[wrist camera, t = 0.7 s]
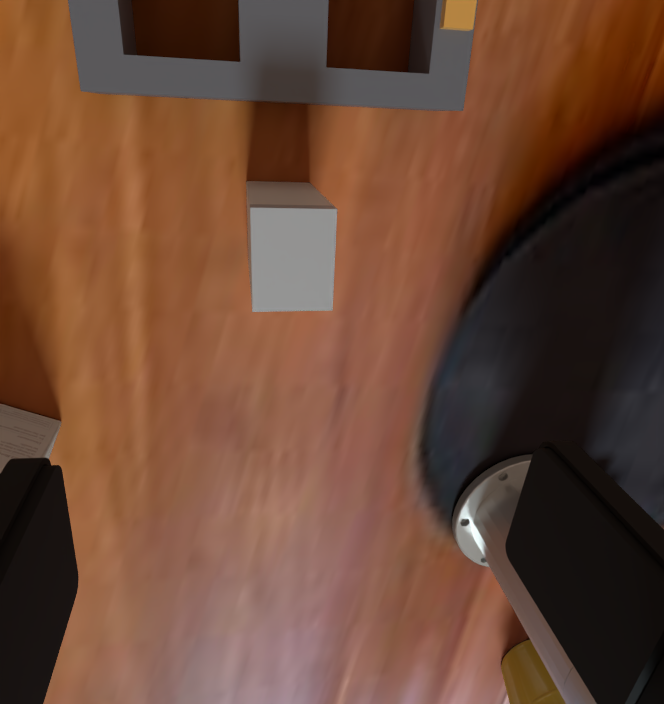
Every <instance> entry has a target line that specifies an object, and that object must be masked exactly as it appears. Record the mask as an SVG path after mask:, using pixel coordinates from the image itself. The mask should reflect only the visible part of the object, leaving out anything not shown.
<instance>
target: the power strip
mask: <svg viewBox="0 0 664 704" xmlns="http://www.w3.org/2000/svg"><path fill="white" fill-rule="evenodd" d="M68 3H69V10H70V18H71V25H72V32H73V39H74V46H75V53H76V60H77V67H78V74H79V81H80V89H81V91H84V92H91V93H98V94H116V95H135V96H155V97H175V98H194V99H214V100H234V101H253V102H273V103H293V104H312V105H332V106H352V107H371V108H391V109H411V110H430V111H463V108H464V101H465V93H466V86H467V78H468V71H469V63H470V56H471V48H472V41H473V33H474V26H475V18H476V11H477V4H478V0H414V10H413V21H412V32H411V43H410V54H409V65H408V73H407V72H391V71H375V70H360V69H344V68H328V67H326V63H327V33H328V3H329V0H238V17H239V54H240V62H233V61H217V60H201V59H186V58H170V57H154V56H138V55H137V50H136V40H135V30H134V20H133V10H132V0H68Z"/></svg>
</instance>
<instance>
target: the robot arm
mask: <svg viewBox="0 0 664 704" xmlns="http://www.w3.org/2000/svg"><path fill="white" fill-rule="evenodd" d="M452 530H453V534H454V537H455V540H456V541H457V543H458V545H459V548H460V549H461V550H462V552H463V553H464V554H465V556H467V557H468V558H469V559H471V560H472V561H473V562H475V563H477V564H480V565H483V566H487V567H490V568H491V570H492V572H493V574H494V575H495V577H496V579H497V581H498V583H499V584H500V586H501V588H502V590H503V592H504V593H505V595H506V597H507V599H508V601H509V602H510V604H511V606H512V608H513V610H514V611H515V613H516V615H517V617H518V619H519V620H520V622H521V624H522V626H523V627H524V629H525V631H526V633H527V635H528V636H529V638H530V640H531V642H532V644H533V645H534V647H535V649H536V651H537V653H538V654H539V656H540V658H541V660H542V662H543V663H544V665H545V667H546V669H547V671H548V672H549V674H550V676H551V678H552V680H553V681H554V683H555V685H556V687H557V689H558V690H559V692H560V694H561V696H562V698H563V699H564V701H565V703H566V704H664V529H663V528H662V527H661V526H659V525H658V524H657V523H656V522H655V521H654V520H653V519H652V518H651V517H650V516H649V515H648V514H647V513H646V512H645V511H644V510H643V509H642V508H641V507H640V506H639V505H638V504H637V503H636V502H635V501H634V500H633V499H632V498H631V497H630V496H629V495H628V494H627V493H626V492H625V491H624V490H623V489H622V488H621V487H620V486H619V485H618V484H617V483H616V482H615V481H614V480H613V479H612V478H611V477H610V476H609V475H608V474H607V473H606V472H605V471H603V470H602V469H601V468H600V467H599V466H598V465H597V464H596V463H595V462H594V461H593V460H592V459H591V458H590V457H589V456H588V455H587V454H586V453H585V452H584V451H583V450H582V449H581V448H580V447H579V446H578V445H577V444H576V443H574V442H573V441H547V442H543V443H542V444H541V445H540V448H539V449H536V450H535V451H534V453H533V454H530V455H522V456H518V457H513V458H510V459H508V460H505V461H502V462H500V463H498V464H496V465H494V466H492V467H491V468H489V469H487V470H486V471H484V472H483V473H482V474H481V475H479V476H478V477H477V478H476V479H475V480H474V481H473V482H472V483H471V484H470V485H469V486H468V487H467V488H466V489H465V491H464V492H463V494H462V495H461V497H460V498H459V500H458V503H457V505H456V507H455V510H454V514H453V518H452ZM77 589H78V569H77V563H76V557H75V550H74V544H73V538H72V531H71V525H70V518H69V512H68V506H67V499H66V493H65V487H64V480H63V474H62V469H61V467H60V466H59V465H53V466H51V463H50V461H49V459H48V458H46V457H45V458H14V459H10V460H9V461H8V462H7V464H6V465H5V467H4V468H3V470H2V472H1V473H0V704H43V702H44V699H45V696H46V693H47V689H48V686H49V683H50V679H51V676H52V673H53V670H54V666H55V663H56V660H57V657H58V653H59V650H60V647H61V643H62V640H63V637H64V634H65V630H66V627H67V624H68V620H69V617H70V614H71V611H72V607H73V604H74V601H75V598H76V594H77Z"/></svg>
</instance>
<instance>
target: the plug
mask: <svg viewBox="0 0 664 704" xmlns="http://www.w3.org/2000/svg"><path fill="white" fill-rule="evenodd" d="M246 195H247V236H248V265H249V277H250V289H251V301H252V312H266V311H325V310H333V288H334V266H335V245H336V223H337V208H335V207H334V206H333V205H332V204H331V203H330V202H329V201H328V200H327V199H326V198H325V197H324V196H323V195H322V194H321V193H320V192H319V191H318V190H317V189H316V188H315V187H314V186H313V185H312V184H311V183H306V182H267V181H246Z"/></svg>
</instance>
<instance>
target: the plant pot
mask: <svg viewBox="0 0 664 704" xmlns="http://www.w3.org/2000/svg"><path fill="white" fill-rule="evenodd" d="M501 669H502V674H503V678H504V682H505V686H506V690H507V694H508V698H509V702H510V704H566V703H565V701H564V699H563V698H562V696H561V694H560V692H559V690H558V689H557V687H556V685H555V683H554V681H553V680H552V678H551V676H550V674H549V672H548V671H547V669H546V667H545V665H544V663H543V662H542V660H541V658H540V656H539V654H538V653H537V651H536V649H535V647H534V645H533V644H532V642H531V640H526V641H524V642H521V643H519V644H518V645H516V646H514V647H513V648H512V649H511V650H510V651H509V652H508V653H507V654H506V655H505V657H504V658H503V661H502V665H501Z"/></svg>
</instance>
